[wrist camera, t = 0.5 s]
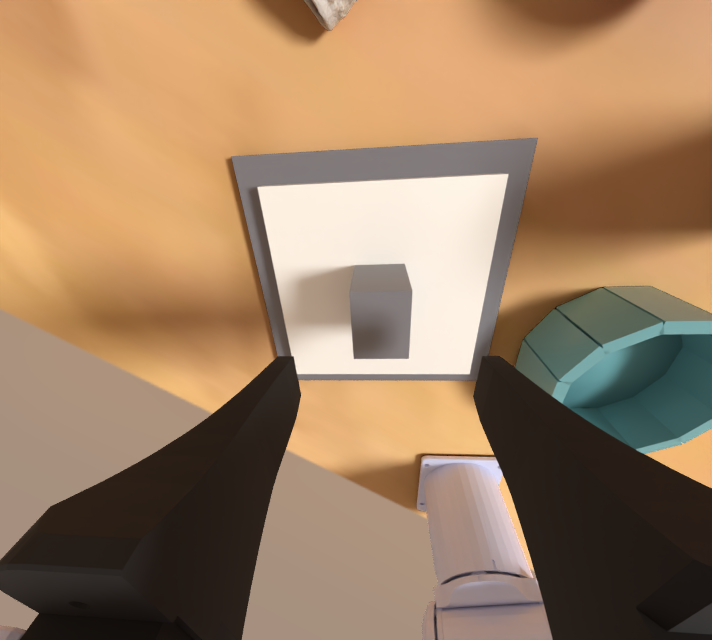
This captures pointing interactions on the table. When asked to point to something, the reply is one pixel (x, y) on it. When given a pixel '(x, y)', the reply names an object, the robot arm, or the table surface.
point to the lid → (383, 270)
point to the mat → (390, 165)
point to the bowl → (627, 364)
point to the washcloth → (329, 11)
